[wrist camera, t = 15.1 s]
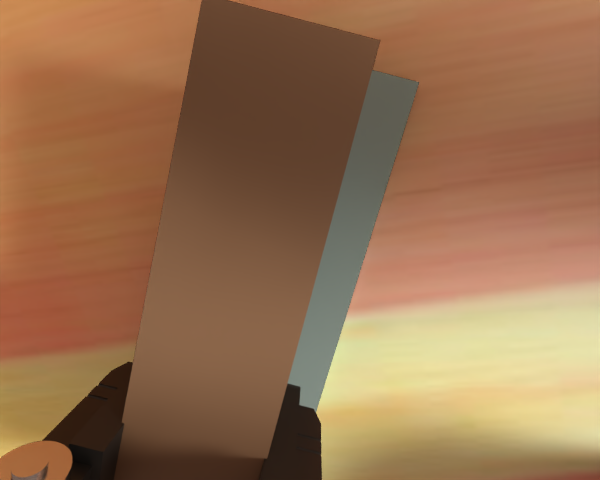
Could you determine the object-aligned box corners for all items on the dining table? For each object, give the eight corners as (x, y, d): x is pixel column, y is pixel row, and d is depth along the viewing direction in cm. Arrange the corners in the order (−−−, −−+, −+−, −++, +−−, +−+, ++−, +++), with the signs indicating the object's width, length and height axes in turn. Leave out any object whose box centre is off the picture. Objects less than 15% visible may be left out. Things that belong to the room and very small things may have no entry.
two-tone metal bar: (250, 83, 11) (199, -9, 6) (349, 109, 11) (383, 40, 6) (151, 539, 14) (57, 747, 9) (230, 559, 14) (183, 777, 9)
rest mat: (218, 34, 13) (213, 27, 13) (414, 85, 13) (419, 82, 13) (141, 471, 18) (135, 481, 18) (283, 507, 18) (282, 519, 18)
